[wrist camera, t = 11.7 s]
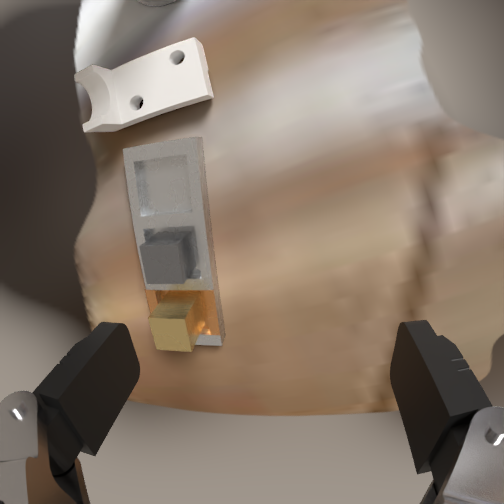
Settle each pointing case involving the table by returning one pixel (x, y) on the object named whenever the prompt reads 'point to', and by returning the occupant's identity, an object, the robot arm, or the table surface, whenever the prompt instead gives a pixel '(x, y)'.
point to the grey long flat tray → (176, 218)
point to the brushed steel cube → (168, 257)
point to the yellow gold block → (177, 321)
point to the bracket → (146, 86)
